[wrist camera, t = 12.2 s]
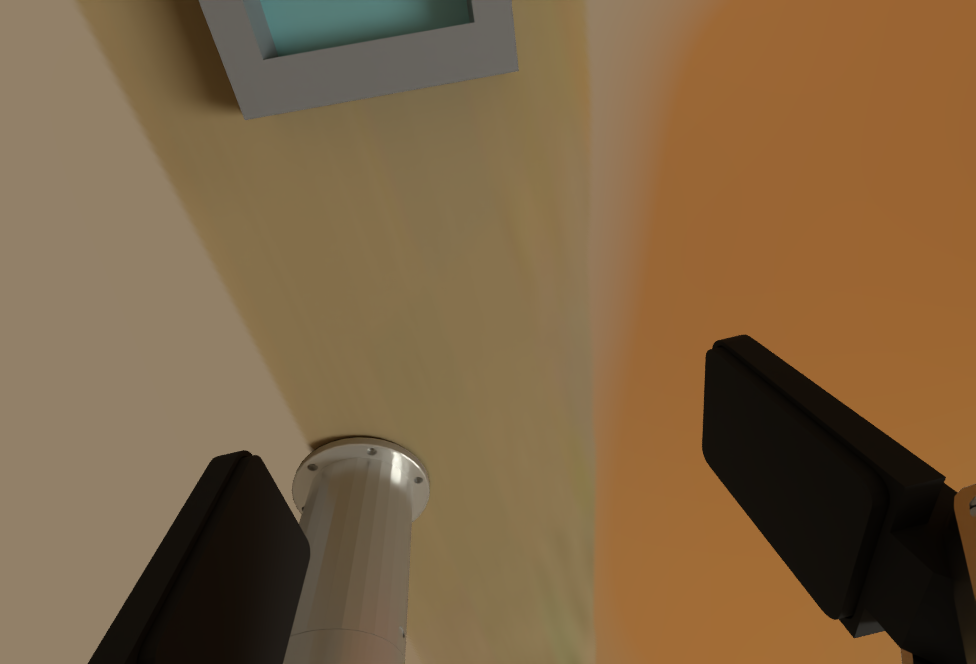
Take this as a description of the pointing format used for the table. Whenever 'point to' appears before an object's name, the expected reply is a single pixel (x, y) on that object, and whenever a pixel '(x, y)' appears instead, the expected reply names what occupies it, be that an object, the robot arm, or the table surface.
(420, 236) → the table surface
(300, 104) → the housing
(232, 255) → the table surface
